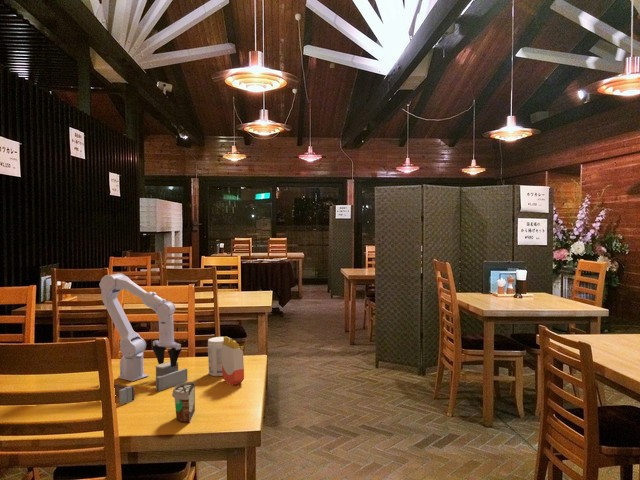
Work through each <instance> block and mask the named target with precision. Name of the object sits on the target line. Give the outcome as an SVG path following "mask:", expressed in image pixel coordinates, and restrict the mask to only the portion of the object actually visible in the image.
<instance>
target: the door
mask: <svg viewBox="0 0 640 480" xmlns="http://www.w3.org/2000/svg"><path fill="white" fill-rule="evenodd" d="M113 383H114V388H115V395H116V397H115V398H119V390H121V389H124V387H127V386H128V385H125V384H121V383H120V384H119V383H117V382H116V383H115V382H113ZM129 386H130V385H129ZM130 387H132V402H133V401H135V386H134V385H131V386H130Z"/></svg>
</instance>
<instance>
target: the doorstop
mask: <svg viewBox="0 0 640 480" xmlns="http://www.w3.org/2000/svg"><path fill="white" fill-rule="evenodd" d="M178 370H179V362H178V361H177V364H176V366H174V367H171V364H170V361H168V362H164V363H162V364H158V365H155V378H156V377H158V376H163V375H166V374H169V373H172V372H175V371H178Z"/></svg>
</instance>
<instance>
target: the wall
mask: <svg viewBox="0 0 640 480" xmlns="http://www.w3.org/2000/svg"><path fill="white" fill-rule="evenodd" d="M185 382H188V368H187V367H186V368H182V369H178V371H175V372H172V373H169V374H166V375H163V376H158V377H156V376H155V391H156V392H162V391H163V390H166V389H170V388H172V387H175V386H177V385H179V384H181V383H185ZM126 386H127V387H124V389H121V390H119V397H118V398H119V405H121V406H122V405H125V404H128V403H132V402H133V401H132V387H130V385H126Z"/></svg>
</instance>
